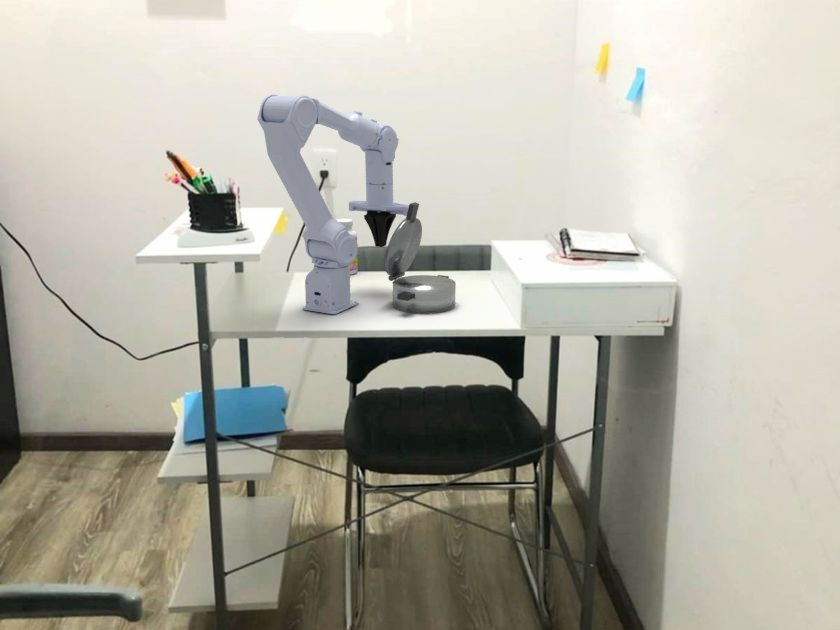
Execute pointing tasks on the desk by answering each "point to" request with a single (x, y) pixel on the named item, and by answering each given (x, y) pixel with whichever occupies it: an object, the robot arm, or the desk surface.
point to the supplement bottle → (348, 225)
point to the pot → (424, 294)
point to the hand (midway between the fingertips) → (380, 245)
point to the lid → (403, 244)
